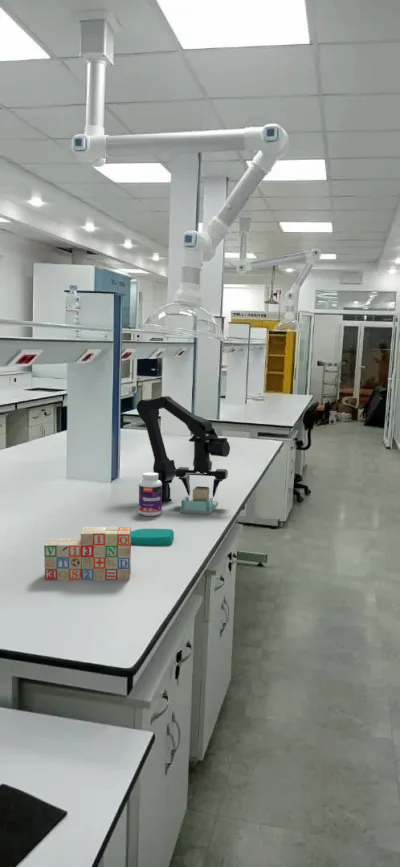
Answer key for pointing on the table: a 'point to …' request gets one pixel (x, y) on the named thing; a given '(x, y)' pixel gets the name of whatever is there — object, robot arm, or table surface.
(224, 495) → the table surface
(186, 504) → the dock
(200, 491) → the cardboard box with slot
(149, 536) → the teal flat block
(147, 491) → the pill bottle
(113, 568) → the stack of blocks
